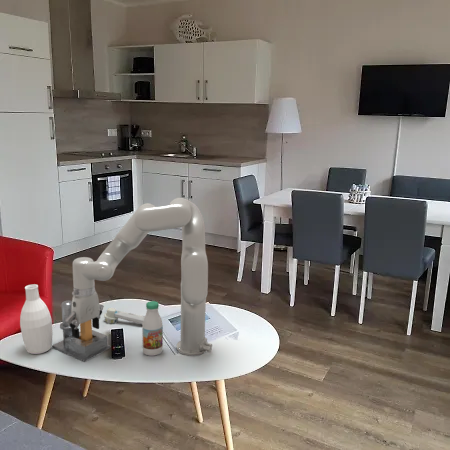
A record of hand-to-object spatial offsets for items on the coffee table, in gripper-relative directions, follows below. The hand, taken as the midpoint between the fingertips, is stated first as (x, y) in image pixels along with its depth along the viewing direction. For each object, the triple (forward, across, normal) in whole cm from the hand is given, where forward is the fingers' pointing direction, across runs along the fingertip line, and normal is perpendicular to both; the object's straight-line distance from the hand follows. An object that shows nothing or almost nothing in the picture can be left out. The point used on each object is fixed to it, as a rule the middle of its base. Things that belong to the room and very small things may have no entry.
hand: (86, 332), depth 174 cm
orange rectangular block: (+6, 0, 0) cm, 6 cm away
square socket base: (+7, 0, +4) cm, 8 cm away
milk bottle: (+7, +14, -21) cm, 26 cm away
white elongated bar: (+8, +27, +2) cm, 28 cm away
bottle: (+7, -10, +15) cm, 19 cm away
